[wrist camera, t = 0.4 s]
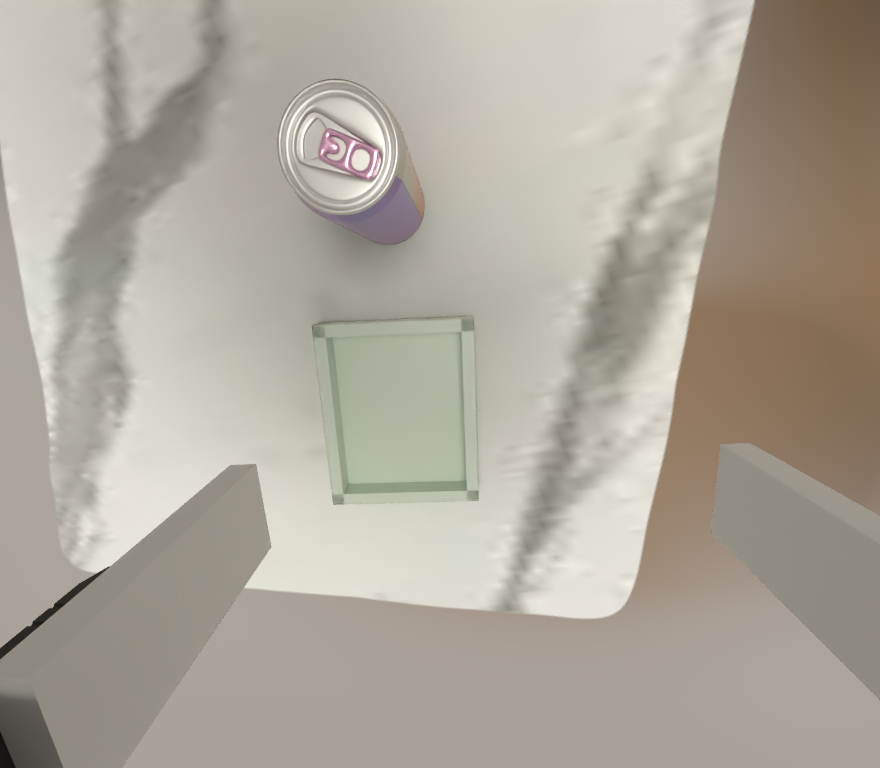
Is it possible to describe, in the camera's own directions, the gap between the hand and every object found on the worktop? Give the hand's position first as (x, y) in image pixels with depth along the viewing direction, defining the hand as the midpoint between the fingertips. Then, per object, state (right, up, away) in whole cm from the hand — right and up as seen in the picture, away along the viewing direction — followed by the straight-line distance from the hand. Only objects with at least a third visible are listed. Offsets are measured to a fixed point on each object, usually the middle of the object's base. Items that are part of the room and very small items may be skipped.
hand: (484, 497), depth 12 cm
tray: (-5, +1, +26) cm, 26 cm away
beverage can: (-5, +18, +22) cm, 28 cm away
